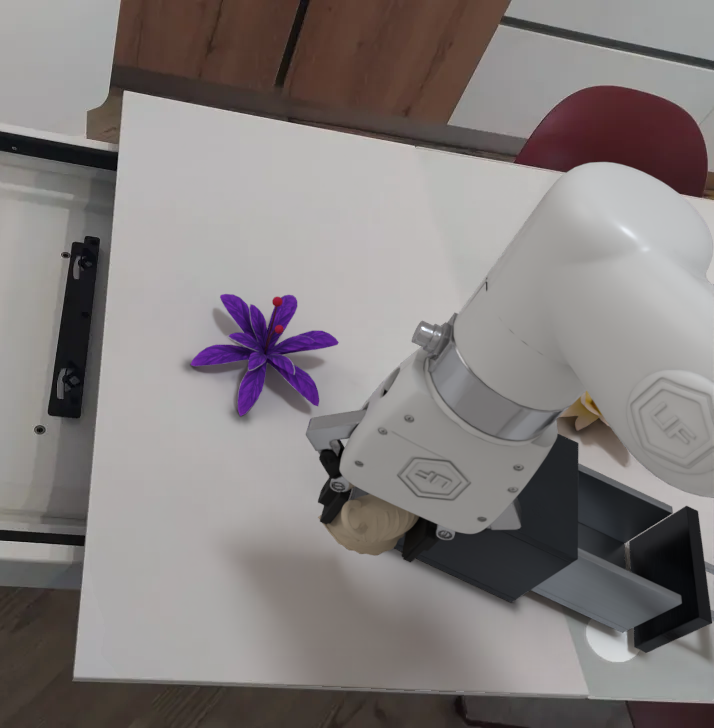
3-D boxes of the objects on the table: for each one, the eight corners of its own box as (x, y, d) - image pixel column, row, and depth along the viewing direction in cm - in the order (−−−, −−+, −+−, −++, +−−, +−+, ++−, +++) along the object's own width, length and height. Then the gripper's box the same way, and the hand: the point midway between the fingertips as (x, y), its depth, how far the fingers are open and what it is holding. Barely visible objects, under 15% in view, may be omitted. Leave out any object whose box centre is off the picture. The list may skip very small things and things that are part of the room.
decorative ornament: (416, 544, 55) (451, 510, 51) (322, 569, 52) (352, 535, 48) (391, 496, 57) (423, 460, 54) (299, 518, 54) (326, 481, 50)
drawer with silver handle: (705, 576, 74) (769, 543, 68) (719, 687, 66) (793, 660, 60) (498, 480, 74) (544, 439, 68) (489, 580, 66) (540, 543, 60)
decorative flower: (352, 328, 78) (372, 289, 72) (299, 448, 71) (316, 418, 65) (233, 275, 80) (242, 232, 73) (170, 388, 73) (173, 352, 66)
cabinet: (519, 492, 75) (578, 442, 68) (511, 602, 67) (578, 559, 59) (370, 423, 75) (414, 366, 68) (344, 525, 67) (390, 472, 59)
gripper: (342, 356, 38) (245, 518, 52) (647, 492, 38) (471, 620, 51) (368, 272, 44) (274, 440, 57) (638, 392, 43) (480, 532, 57)
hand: (369, 524), depth 54 cm, fingers closed on decorative ornament, 5 cm apart
